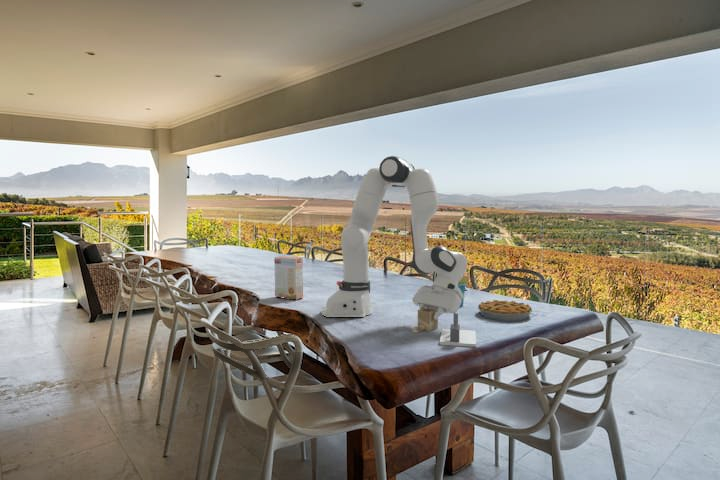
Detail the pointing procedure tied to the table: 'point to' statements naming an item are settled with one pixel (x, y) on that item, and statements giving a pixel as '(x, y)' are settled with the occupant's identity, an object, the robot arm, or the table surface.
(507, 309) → the pie
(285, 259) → the cracker box
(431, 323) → the wooden pencil holder
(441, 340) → the base plate
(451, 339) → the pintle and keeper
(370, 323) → the table surface
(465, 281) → the cup
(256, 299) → the table surface
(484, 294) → the table surface
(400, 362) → the table surface
